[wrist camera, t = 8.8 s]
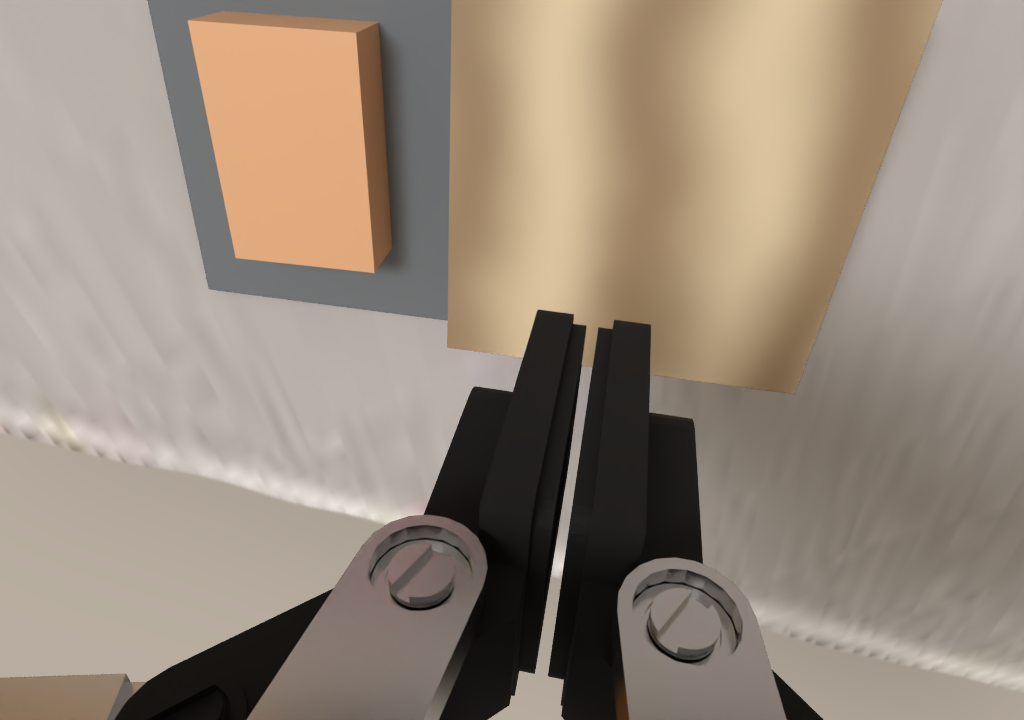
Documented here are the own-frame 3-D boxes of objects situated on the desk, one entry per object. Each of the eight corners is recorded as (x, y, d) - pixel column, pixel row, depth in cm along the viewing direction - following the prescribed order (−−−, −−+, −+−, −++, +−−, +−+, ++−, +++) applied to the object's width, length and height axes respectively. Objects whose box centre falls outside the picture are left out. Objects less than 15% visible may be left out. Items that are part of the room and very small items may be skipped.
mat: (463, -91, 23) (461, -90, 23) (455, 317, 32) (454, 321, 32) (127, -117, 24) (122, -118, 24) (212, 286, 33) (208, 289, 33)
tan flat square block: (898, -19, 22) (944, -5, 19) (777, 340, 30) (795, 394, 27) (477, -55, 23) (452, -48, 20) (466, 300, 31) (447, 347, 28)
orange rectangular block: (187, 20, 23) (223, 10, 25) (235, 258, 28) (262, 234, 31) (355, 32, 23) (378, 22, 25) (374, 273, 28) (391, 247, 30)
